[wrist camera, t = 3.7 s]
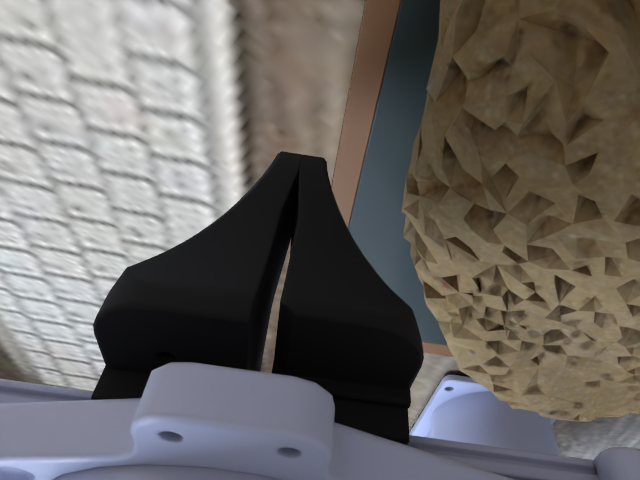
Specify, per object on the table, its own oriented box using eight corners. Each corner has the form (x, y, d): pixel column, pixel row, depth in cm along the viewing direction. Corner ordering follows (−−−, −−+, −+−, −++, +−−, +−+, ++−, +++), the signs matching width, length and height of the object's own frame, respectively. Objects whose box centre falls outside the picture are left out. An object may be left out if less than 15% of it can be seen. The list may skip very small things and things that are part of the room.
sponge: (412, -191, 12) (356, 372, 22) (616, -377, 5) (397, 552, 16) (870, -160, 13) (613, 355, 24) (1496, -270, 6) (751, 514, 17)
